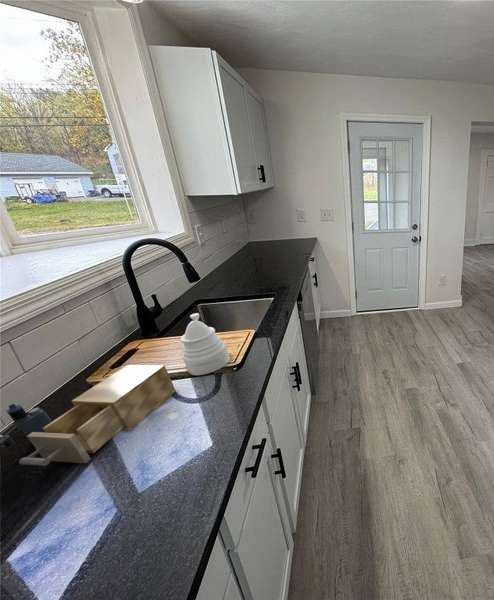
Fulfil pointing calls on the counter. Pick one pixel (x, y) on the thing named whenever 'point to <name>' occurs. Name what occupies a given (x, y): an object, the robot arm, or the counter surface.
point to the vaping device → (29, 419)
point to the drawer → (74, 435)
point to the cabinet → (131, 392)
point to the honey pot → (203, 348)
